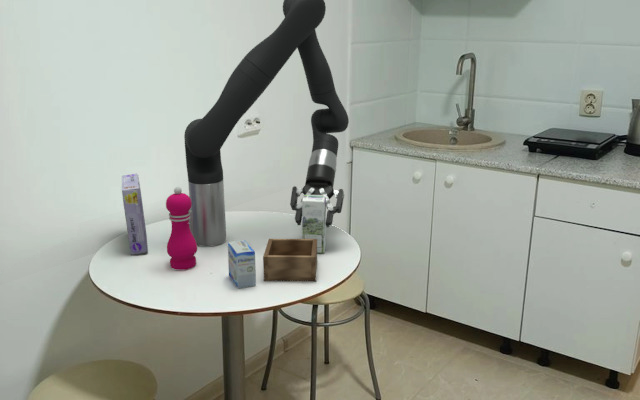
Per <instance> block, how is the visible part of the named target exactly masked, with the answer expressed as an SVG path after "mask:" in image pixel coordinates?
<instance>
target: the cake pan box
mask: <svg viewBox="0 0 640 400" xmlns="http://www.w3.org/2000/svg"><path fill="white" fill-rule="evenodd" d="M121 194H122V203H123V209H124V216H125V217H124V218H125V222H126V223H125V225H126V230H127V236H128V245H129V250H130V255H143V254H144V255H145V254H148V253H149V247H148V246H149V245H148V236H147V228H146V220H145V214H144V212H145V211H144V207H143V205H144V204H143V197H142V191H141V184H140V180H139V174H138V173H131V174H126V175H121Z"/></svg>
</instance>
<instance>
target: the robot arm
mask: <svg viewBox="0 0 640 400" xmlns="http://www.w3.org/2000/svg"><path fill="white" fill-rule="evenodd" d="M282 3H283V4H282V13H283V15H284V16H283V17H284V18H283V19H282V21H281V22H280V24H279V25H278V27H276V29H275V30H274V31H273V32H272V33H271V34H269V35H268V36H267V37H265V39H263V40H262V41H260V42H259V43H258V44H256V45H255V46H254V47H253V48H252V49H250V50H249V51H248V52H247V54H246V55H244V56H243V58H242V60H241V61H240V62H239V63H238V64H237V66H236V67H235V68H234V70H233V71H232V73H231V74H230V76H229V77H228V79H227V82H226V83H225V86H224V87H223V88H222V91H221V93H220V95H219V98H218V99H217V100H216V102H215V103H214V104H213V106H212V107H211V109H209V111H208V112H207V113H206V114H205V115H204V116H203V117H202V118H196V119H194V120H193V121H192V120H191V121H190V123H189V124H188V125H187V126H186V128H185V130H184V136H183V137H184V151H185V165H186V166H185V167H186V174H187V181H188V182H187V183H188V194H189V195H188V196H189V197H190V199H191V202H192V206H191V208H190V210H189V212H190V219H189V227H190V231H191V233H192V235H193V237H194V239H195V241H196V244H197V247H215V246H219V245H222V244H224V243H226V241H227V226H226V225H227V224H226V208H225V207H226V206H225V202H226V201H225V189H224V187H225V185H224V183H225V182H224V170H223V166H222V165H223V164H222V163H223V162H222V157H221V156H222V155H221V149H222V147H223V146H224V144H225V142H226V140H227V139H228V138H229V136H230V134H231V133H232V132H233V130H234V128H235V127H236V125H237V124H238V122H239V121H240V119H241V118H242V117H243V116H244V115H245V114H246V113H247V112H248V111H249V109H250V108H251V107H252V106H253V104H255V103H256V102H257V100H258V98H260V97H261V95H262V94H263V93H264V92H265V91H266V89H267V88H268V87H269V86H270V84H272V82H273V81H274V79H275V78H276V76H277V75H278V74H279V72H280V71H281V69H282V68H283V67H284V65H286V64H287V62H288V61H289V59H290V58H291V57H292V55H293V54H294V52H295V51H296V50H298V54H299V57H300V60H301V63H302V66H303V71H304V74H305V78H306V82H307V86H308V90H309V93H310V94H309V95H310V98H311V101H312V102H313V103H315V104H318V105H322V106H323V105H324V106H326V107H327V108H320V109H316V110H315V111H313V112H312V115H311V117H310V124H311V130H312V137H313V138H312V141H313V143H312V149H311V154H310V157H309V160H308V166H307V172H306V178H305V183H304V185H303V187H301V188H299V187H297V186H295V185H294V186H293V187H292V189H291V196H290V202H289V205H290V207H291V210H292V211H295V215H294V216H295V217H294V220H295V223H296V224H297V226H301V225H302V200H303V197H301V200H300V201H299V202H298V198H299V197H300V196H301V195H302V194H303V196H304V195H325V196H326V200H325V203H326V212H327V213H326V228H330V226H332V225H333V222H334V215H335V214H340V213H341V212H342V209H343V204H344V198H345V194H344V193H345V192H344V189H343V188H339V189H334V184H335V179H336V173H337V157H338V151H339V139H338V138H337V137H336V136H334V135H332V134H334V133H335V134H336V133H343V132H345V131H346V130H347V129H348V127H349V119H350V118H349V116H348V112H347V110H346V108H345V107H344V105H343V103H342V102H341V99H340V98H339V96H338V93H337V91H336V87H335V83H334V79H333V74H332V71H331V68H330V65H329V63H328V61H327V58H326V56H325V54H324V51H323V49H322V47H321V45H320V42H319V39H318V36H317V32H316V29H317V28H318V27H319V26H320V24H321V23H322V22H323V20H324V18H325V15H326V11H327V10H326V2H325V0H283V2H282ZM334 196H335V198H336V202H335V203H336V204H335V206H333V205H332V203H331V201H330V200H331V198H332V197H334Z"/></svg>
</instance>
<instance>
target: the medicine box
mask: <svg viewBox="0 0 640 400" xmlns="http://www.w3.org/2000/svg"><path fill="white" fill-rule="evenodd" d="M227 257H228V258H227V259H228V260H227V261H228V262H227V263H228V276H229V278H230V279H231V281H232V282H233V284H234V285H235V286H236V288H237V289H245V288H251V287H255V286H257V274H256V273H257V272H256V271H257V270H256V252H255V250H254V249H253V248H252V246H251V245H250V244H249V243H248V242H247V241H246V240H243V239H242V240H234V241H233V240H232V241H230V242H227Z"/></svg>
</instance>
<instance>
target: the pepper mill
mask: <svg viewBox="0 0 640 400" xmlns="http://www.w3.org/2000/svg"><path fill="white" fill-rule="evenodd" d="M182 191H183V190H182V188H181V187H179V186H177V187H175V188H174V189H173V192H174V193H172V194H170V195H169V196H168V197H167V198H166V201H165V207H166V210H167V211H168V212H169V213H168V216H169V218H168V220H170V223H171V231H170V232H171V233H170V236H169V239H168V240H167V244H166V253H167V254H168V256H169V257H170V259H169V265H170V268H171V269H173V270H176V271H183V270H184V271H186V270H190V269H193V268H195V266H197V257H196V256H195V255H196V253H197V252H198V245H197V244H196V241H195V239H194V237H193V235H192V233H191V231H190V227H189V219H190V212H189V210H190V208H191V206H192V202H191V199H190V197H189V195H188V194H186V193H183V192H182Z"/></svg>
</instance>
